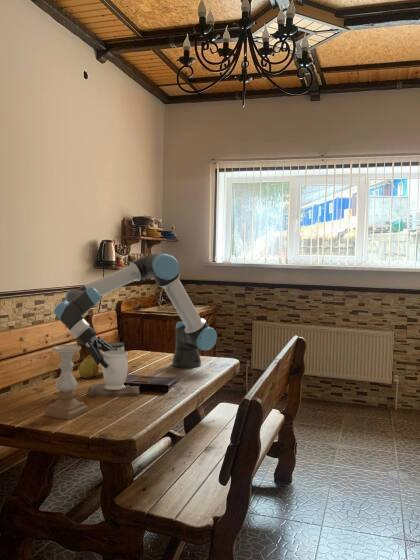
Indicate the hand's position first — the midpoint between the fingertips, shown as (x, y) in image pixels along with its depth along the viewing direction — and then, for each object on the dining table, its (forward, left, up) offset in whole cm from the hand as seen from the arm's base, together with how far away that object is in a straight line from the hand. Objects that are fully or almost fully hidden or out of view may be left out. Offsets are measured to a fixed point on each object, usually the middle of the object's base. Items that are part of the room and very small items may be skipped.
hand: (118, 369), depth 206 cm
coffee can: (+3, -34, -10) cm, 36 cm away
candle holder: (+17, +28, -10) cm, 34 cm away
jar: (+1, -1, -8) cm, 9 cm away
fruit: (+14, -25, -10) cm, 31 cm away
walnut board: (+1, 0, -9) cm, 9 cm away
